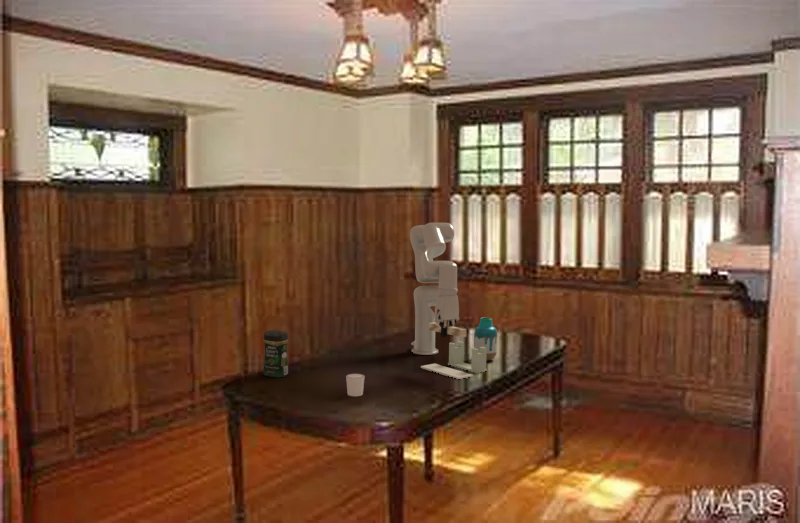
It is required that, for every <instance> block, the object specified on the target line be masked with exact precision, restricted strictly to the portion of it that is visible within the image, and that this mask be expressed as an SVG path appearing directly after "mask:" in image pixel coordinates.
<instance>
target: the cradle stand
mask: <svg viewBox="0 0 800 523" xmlns="http://www.w3.org/2000/svg"><path fill="white" fill-rule="evenodd" d="M456 342H457V343H454V342H449V343H448V362H447V366H449V365H451V366H450V367H453V366H454V368H456V367H457V368H456V369H460V368H461V369H460V370H463V369H464V370H463V371H466V370H468V371H467V372H470V371H471V372H470V373H473V372H474V374H481V373H480V372H482V373H486V372H485V371H487V372H488V368H487V361H486V352H487V348H485V347H480V352H478V349H475V348H474V347H472V348H471V362H470V363H466V362H465V361H464V348H465V346H464V344H465V343H464V341H460V340H458V341H456Z"/></svg>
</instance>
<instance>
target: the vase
mask: <svg viewBox="0 0 800 523" xmlns="http://www.w3.org/2000/svg"><path fill="white" fill-rule="evenodd" d="M498 339H499V338H498V330H497V328H496V327H495V326H494V325H493V318H492V317H489V316H488V317H485V316H483V317H480V318H479V324H478V326H475V328H474V334H473V348H475V349H478V352H480V347H485V348H487V352H486V362H487V361H492V360H494V359H495V357H496V356H497V352H498Z"/></svg>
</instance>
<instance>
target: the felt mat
mask: <svg viewBox="0 0 800 523" xmlns="http://www.w3.org/2000/svg"><path fill="white" fill-rule="evenodd" d="M420 368H421V369H422V370H426V371H429V372H432V371H433V373H435V372H436V374H438V373H439V374H438V375H442V376H445V377H448V376H449V378H451V377H453V378H452V379H454V378H456V379H455V380H458V379H461V380H464V379H463V378H466V379H469V378H468V377H470V378H474V374H472V373H468V372H464V371H461V370H457V369H454V368H453V367H452V368H451V367H448V366H443V365H440V364H438V363H430V364H424V365H420Z"/></svg>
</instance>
